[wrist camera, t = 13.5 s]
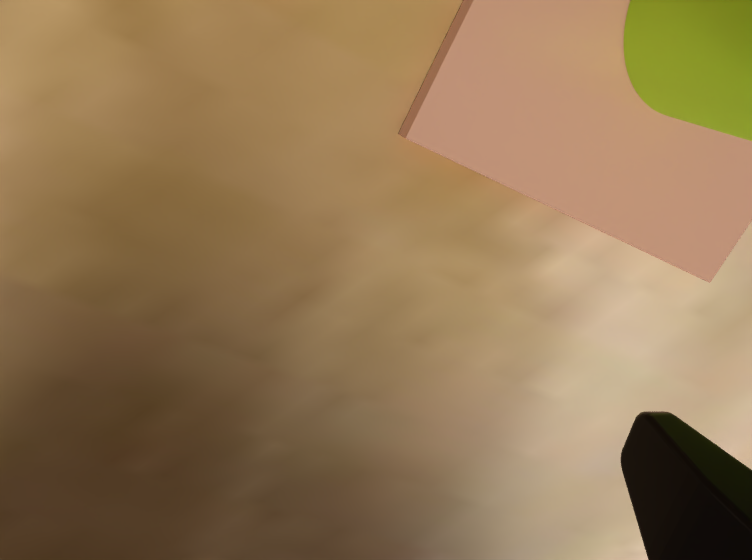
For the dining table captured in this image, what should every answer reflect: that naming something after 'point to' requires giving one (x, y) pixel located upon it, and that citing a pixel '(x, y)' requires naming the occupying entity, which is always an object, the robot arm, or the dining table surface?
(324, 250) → the dining table surface
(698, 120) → the soap dispenser
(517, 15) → the terracotta tile
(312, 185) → the dining table surface
